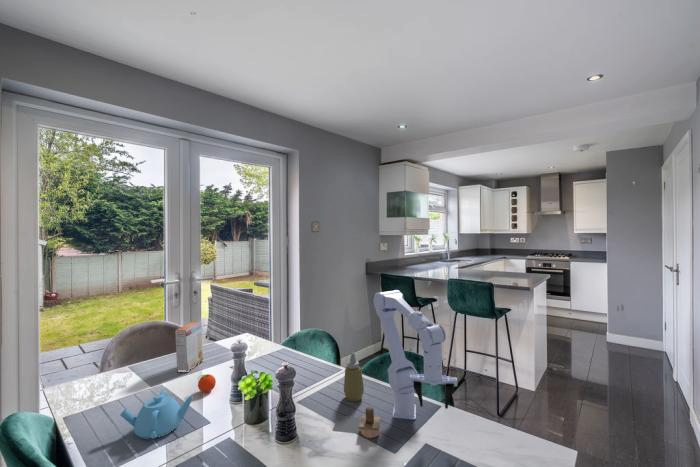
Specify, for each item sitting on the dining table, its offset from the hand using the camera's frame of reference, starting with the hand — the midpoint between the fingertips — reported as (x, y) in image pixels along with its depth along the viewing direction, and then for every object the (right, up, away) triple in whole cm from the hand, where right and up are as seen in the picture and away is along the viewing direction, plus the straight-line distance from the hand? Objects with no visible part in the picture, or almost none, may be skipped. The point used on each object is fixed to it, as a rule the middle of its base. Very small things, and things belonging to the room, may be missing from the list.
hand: (433, 406), depth 105 cm
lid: (-20, -7, +3) cm, 22 cm away
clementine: (-88, -12, +34) cm, 95 cm away
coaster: (-27, -11, +8) cm, 30 cm away
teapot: (-93, -13, +9) cm, 94 cm away
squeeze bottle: (-25, -10, +25) cm, 37 cm away
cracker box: (-107, -12, +60) cm, 123 cm away
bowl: (-20, -10, +3) cm, 23 cm away
